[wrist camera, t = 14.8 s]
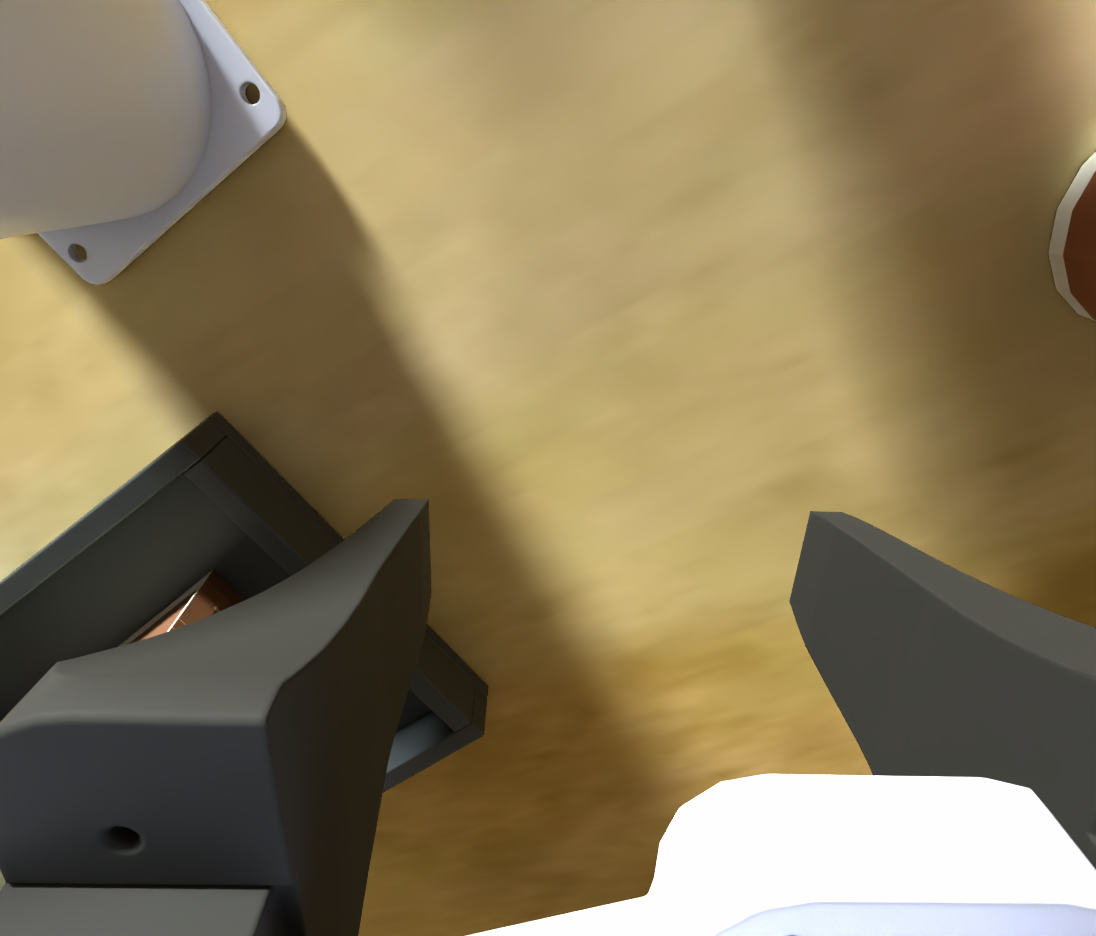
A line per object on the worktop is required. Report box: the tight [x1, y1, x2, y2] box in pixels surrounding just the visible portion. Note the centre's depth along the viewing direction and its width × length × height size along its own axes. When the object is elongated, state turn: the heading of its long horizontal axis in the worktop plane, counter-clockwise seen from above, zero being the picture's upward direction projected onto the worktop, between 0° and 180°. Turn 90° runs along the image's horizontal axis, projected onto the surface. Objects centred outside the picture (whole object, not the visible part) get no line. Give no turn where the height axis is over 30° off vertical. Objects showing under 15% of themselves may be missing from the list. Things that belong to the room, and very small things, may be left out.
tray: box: [0, 412, 488, 792], centre depth 26 cm, size 15×18×3 cm
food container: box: [0, 569, 243, 890], centre depth 22 cm, size 12×6×10 cm, turn 128°
